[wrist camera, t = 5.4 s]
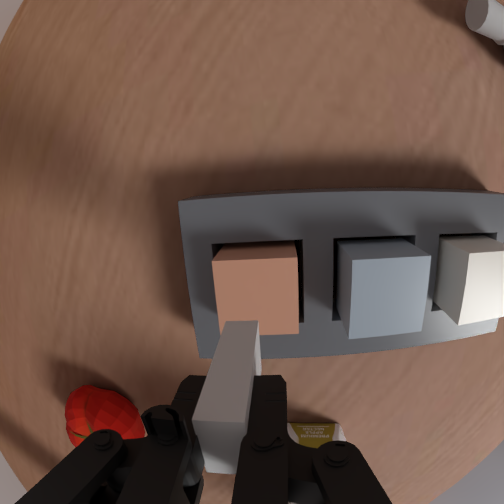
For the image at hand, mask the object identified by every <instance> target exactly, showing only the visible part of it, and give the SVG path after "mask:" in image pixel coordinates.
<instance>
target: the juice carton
mask: <svg viewBox="0 0 504 504" xmlns="http://www.w3.org/2000/svg"><path fill="white" fill-rule="evenodd" d="M287 430H288V434H289V436H290V437H291V439H293V440H294V441H295V442H296V443H298V444H300V445H303V446H307V447H312V448H318V447H319V446H320V445H322V444H324V443H327V442H329V441H336V440H339V441H346V439H345V436H344V433H343V431H342V428H341V426H340V424H338V423H287ZM288 504H296V503H291V502H288Z"/></svg>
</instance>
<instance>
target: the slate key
mask: <svg viewBox="0 0 504 504" xmlns="http://www.w3.org/2000/svg"><path fill="white" fill-rule="evenodd" d="M430 263H431V255H429V254H428V253H426V252H424V251H423V250H421V249H419V248H418V247H416V246H415V245H413V244H411V243H410V242H408V241H406V240H405V239H403V238H396V239H371V240H347V241H337V296H336V308H337V310H338V313H339V315H340V318H341V321H342V323H343V326H344V329H345V331H346V334H347V337H348V339H357V338H368V337H378V336H387V335H395V334H404V333H411V332H419V331H421V330H422V325H423V319H424V312H425V306H426V299H427V291H428V283H429V274H430Z"/></svg>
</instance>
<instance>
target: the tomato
mask: <svg viewBox="0 0 504 504" xmlns="http://www.w3.org/2000/svg"><path fill="white" fill-rule="evenodd" d="M65 418H66V421H67V423H66V430H67V433H68V436H69V439H70V441H71V443H72V444H73V445H74V446H75V447H77V446H78V445H79V444H80V443H81V442H82V441H83V440H84V439H86V438H87V437H88V436H89V435H90V434H92V433H93V432H94V431H97V430H101V429H111V430H115V431H117V432H118V433H119V434H120V435H121V437H122V438H123V439H134V438H143V437H144V434H145V430H144V426H143V423H142V420H141V418H140V415H139V412H138V409H137V408H136V407H135V406H134V405H133V404H132V403H131V402H130V401H129V400H128V399H127V398H125V397H123V396H122V395H120V394H118V393H117V392H115V391H111V390H105V389H100V388H97V387H94V386H92V385H83V386H81V387H79V388H78V389H76V390H75V391H73V392H72V393H71V394H70V396H69V398H68V400H67V403H66V406H65Z"/></svg>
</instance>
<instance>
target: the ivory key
mask: <svg viewBox="0 0 504 504" xmlns="http://www.w3.org/2000/svg"><path fill="white" fill-rule="evenodd" d="M433 302H435V303H436V304H437V305H438V306H439V307H440V308H441V309H442V310H443V311H444V312H445V313H446V314H447V315H448V316H449V317H450V318H451V319H452V320H453V321H454V322H455V323H456V324H457V325H463V324H469V323H474V322H479V321H485V320H489V319H494V318H499V317H504V243H502V242H499V241H497V240H494V239H492V238H489V237H487V236H484V235H479V236H450V237H439V246H438V259H437V269H436V278H435V287H434V294H433Z"/></svg>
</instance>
